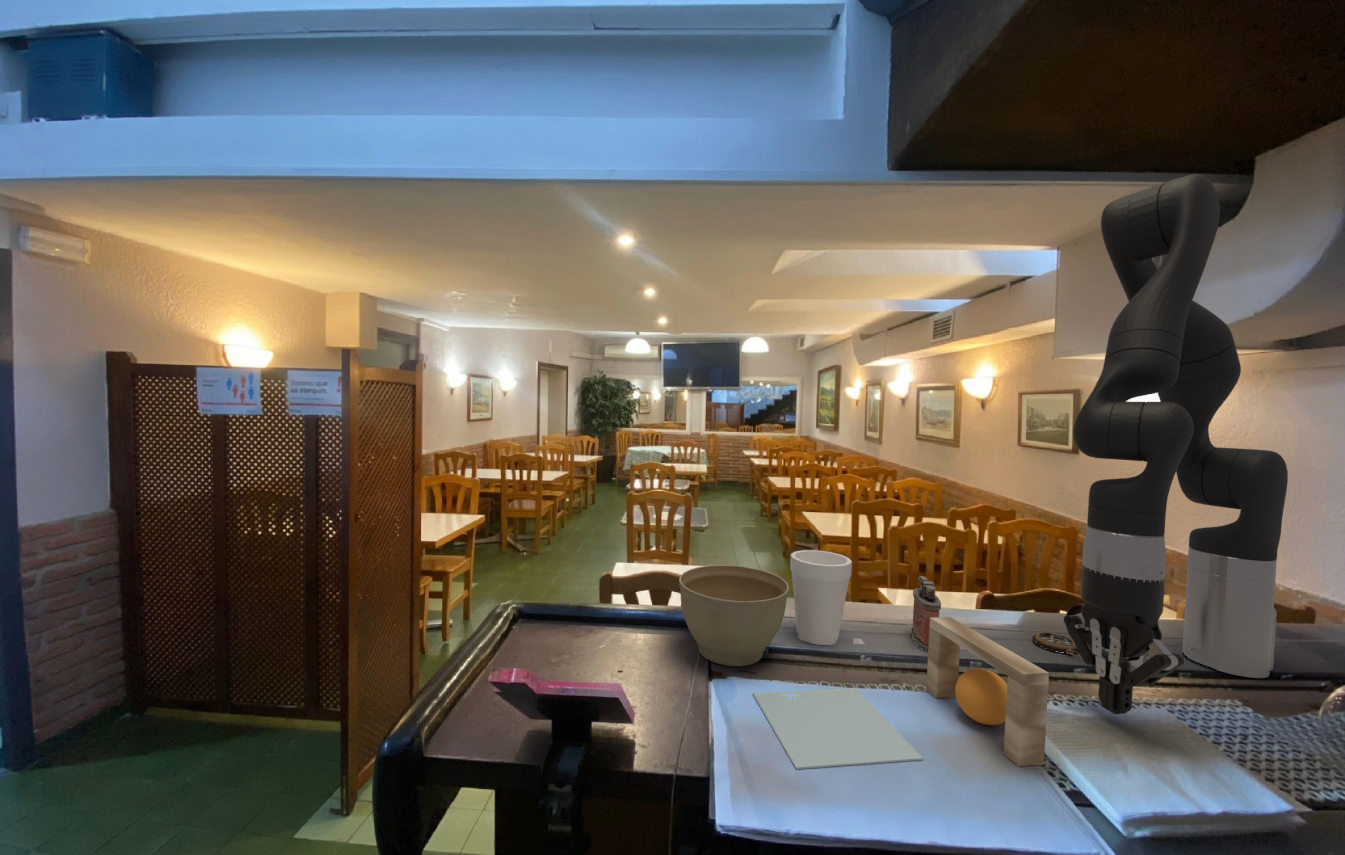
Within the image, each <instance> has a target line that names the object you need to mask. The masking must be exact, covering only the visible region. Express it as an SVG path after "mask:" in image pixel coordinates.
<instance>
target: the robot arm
mask: <svg viewBox="0 0 1345 855" xmlns="http://www.w3.org/2000/svg"><path fill="white" fill-rule="evenodd" d="M1220 206H1221V205H1220V200H1219V195H1218V193H1217V189H1216V187H1215V186H1214V184H1213V182H1212V181H1211V180H1210V179H1209V178H1208V177H1207V176H1206V175H1203V174H1200V173H1196V174H1189V175H1185V176H1181V177H1178V178H1175V179H1171V180H1168V181H1166V182H1163V183H1159V184H1157V185H1154V186H1151V187H1147V188H1145V189H1142V190H1139V191H1136V192H1134V193H1131V194H1127V195H1124V196H1123V197H1119V198H1117V199H1115V200H1113V201H1111V202H1109V203H1107V205H1106V206H1105V207H1104V208H1103V211H1102V214H1101V218H1100V227H1101V236H1102V238H1103V243H1104V246H1105V249H1106V252H1107V254H1108V257H1109V260H1110V262H1111V264H1112V266H1113V268H1114V271H1115V273H1116V276H1117V278H1118V279H1119V282H1120V284H1121V287H1122V289H1123V291H1124V294H1125V297H1126V298H1127V300H1128V302H1127V303H1126V305H1125V306H1124V307H1122V310H1121V311H1120V312H1119V313H1118V315H1117V316H1116V318H1115V320H1114V321H1113V323H1112V326H1111V328H1110V330H1109V335H1108V339H1107V345H1106V350H1105V355H1104V360H1103V366H1102V371H1101V372H1100V375H1099V378H1098V380H1097V381H1096V384H1095V386H1094V387H1093V389H1092V391H1091V393H1090V394H1089V396H1088V398H1086V400H1085V401H1084V403H1083V405H1082V407H1081V409H1080V410H1079V413H1078V414H1077V417H1076V419H1075V420H1074V426H1073V430H1072V432H1073V434H1072V435H1073V436H1072V437H1073V440H1074V443H1075V445H1076V447H1077V448H1078V450H1079V451H1080V452H1081V453H1082V454H1083V455H1085V456H1087V457H1090V458H1095V459H1103V460H1116V461H1117V460H1118V461H1134V462H1145V463H1146V466H1145V468H1144V470H1143V471H1142V472H1141V473H1139V474H1138V475H1135V476H1131V477H1125V478H1124V477H1121V478H1109V479H1108V478H1106V479H1100V480H1096V481H1094V482H1092V484H1091V485H1090V487H1089V493H1088V506H1087V520H1086V521H1087V522H1086V523H1087V526H1086V532H1085V537H1084V540H1083V545H1082V546H1083V547H1082V548H1083V550H1082V566H1081V580H1080V581H1081V584H1080V597H1081V599H1082V601H1084V603H1083V604H1084V605H1083V606H1082V608H1081V613H1079V614H1076V615H1071V616H1066V615H1065V616H1064V617H1063V622H1064V624H1065V626H1066V627H1067V628H1066V630H1067V629H1068V631H1069V633H1070V635H1071V636H1070V635H1069V636H1070V638H1071V637H1072V638H1071V640H1073V641H1074V643H1075V645H1076V647H1077V649H1078V651H1079V653H1080V654H1079V655H1081V656H1080V657H1081V658H1082V661H1083V663H1085V665H1090V666H1092V667H1093V668H1094V669H1095V671H1096V674H1097V675H1098V678H1099V680H1098V694H1097V696H1098V698H1099V701H1100V707H1102V708H1103V709H1105V710H1106V711H1109V712H1110V713H1111V714H1114V715H1126V714H1127V713H1128V712H1130V711H1131V710H1132V707H1133V692H1134V691H1133V690H1134V689H1133V688H1134V687H1148V686H1150V687H1151V686H1153V685H1154V684H1156V683H1157V682H1159V681H1160V680H1162V679H1164V678H1165V677H1167V676H1168V675H1170V674H1171V673H1173V672H1174V671H1176V670H1177V669H1179V668H1181V666H1183V665H1184V663H1185V660H1184V658H1183V656H1182V655H1181V654H1178V653H1172V652H1171V651H1170V650H1169V649H1168V648H1167V646H1166V645H1165V644H1164V643H1163V641H1162V640H1163V634H1162V631H1161V629H1160V626H1159V620H1160V618H1161V616H1162V614H1163V612H1164V604H1165V603H1164V600H1165V599H1164V598H1165V585H1166V567H1167V565H1166V564H1167V552H1166V551H1167V550H1166V541H1165V540H1166V539H1165V532H1166V530H1165V529H1166V516H1167V515H1166V513H1167V506H1168V498H1169V494H1170V490H1171V487H1172V484H1173V482H1174V477H1175V474H1176V478H1177V481H1178V484H1179V487H1180V489H1181V492H1182V493H1183V495H1184V496H1185V497H1186V498H1187V499H1188V500H1189V501H1190V502H1193V503H1196V504H1199V505H1205V506H1212V507H1217V508H1218V507H1219V508H1225V509H1227V508H1228V509H1233V510H1234V509H1235V510H1240V512H1239V515H1238V518H1237V519H1236V520H1235V521H1233V522H1230V523H1227V524H1224V525H1219V526H1218V525H1217V526H1208V527H1207V526H1206V527H1199V528H1194V529H1193V530H1191V531H1190V532H1189V538H1188V552H1187V569H1186V570H1187V571H1186V583H1185V584H1186V586H1185V601H1184V616H1183V617H1184V618H1183V619H1184V620H1183V621H1184V622H1183V636H1182V651H1183V652H1184V653H1185V654H1186V655H1188V656H1189V657H1190V658H1192V659H1193V660H1196V661H1197V662H1199V663H1201V664H1203V665H1206V666H1209V667H1212V668H1214V669H1217V670H1216V671H1217V672H1218V671H1219V672H1221V673H1225V674H1229V675H1235V676H1239V677H1245V678H1253V679H1265V678H1269V677H1270V672H1269V671H1270V669H1273V670H1274V658H1275V644H1276V630H1277V614H1278V612H1277V609H1276V608H1275V594H1276V593H1275V591H1276V576H1277V562H1278V561H1277V559H1278V550H1279V545H1280V542H1281V534H1282V524H1283V515H1284V509H1285V503H1286V502H1285V501H1286V496H1287V490H1288V483H1289V482H1288V481H1289V480H1288V479H1289V478H1288V476H1289V475H1288V472H1289V471H1288V467H1287V463H1286V460H1285V459H1284V458H1283V457H1282V455H1281V454H1279V453H1278V452H1276V451H1273V450H1266V449H1265V450H1264V449H1254V448H1253V449H1252V448H1235V447H1234V448H1233V447H1216V446H1214V444H1212V442H1211V439H1210V434H1209V433H1210V431H1209V427H1210V424H1211V422H1212V420H1213V418H1214V416H1215V415H1216V413H1217V412H1218V410H1220V407H1221V406H1222V405H1223V404H1224V402H1226V400H1227V399H1228V397H1229V396H1230V395H1231V393H1232V392H1233V390H1234V389H1235V387H1236V385H1237V384H1238V383H1239V382H1238V381H1239V379H1240V378H1241V377H1240V376H1241V373H1242V367H1241V362H1240V358H1239V355H1238V354H1239V353H1238V351H1237V347H1236V343H1235V340H1234V337H1233V332H1232V331H1231V329H1230V327H1229V326H1228V325H1227V324H1226V323H1225V321H1223V319H1221V318H1220V317H1218V316H1217V315H1216V314H1215V313H1213V312H1212V311H1210V310H1209V309H1207V308H1206V307H1204V306H1203V305H1201V304H1200V303H1198V302H1197V301H1196V300H1193V299H1194V297H1195V294H1196V292H1197V288H1198V286H1199V283H1200V281H1201V279H1202V276H1203V273H1204V270H1205V268H1206V265H1207V262H1208V259H1209V256H1210V253H1211V250H1212V247H1213V245H1214V242H1215V239H1216V235H1217V233H1218V227H1219V223H1220V213H1221V212H1220V211H1221V210H1220V208H1221V207H1220ZM1161 256H1162V257H1163V256H1165V257H1164V260H1163V262H1162V263H1161V264H1160V265H1159V267H1157V266H1156V264H1155V261H1154V259H1153V258H1158V257H1161ZM1154 394H1157V395H1158V396H1157V397H1158V398H1159V399H1158V400H1159V401H1130V400H1132V399H1133V398H1138V397H1143V396H1149V395H1154ZM1128 400H1129V401H1128ZM1068 631H1067V632H1068ZM1069 633H1068V634H1069ZM1182 651H1181V652H1182ZM1145 654H1147V655H1146V656H1145ZM1144 658H1145V659H1146V661H1145V662H1144ZM1203 665H1202V666H1203ZM1214 669H1213V670H1214Z"/></svg>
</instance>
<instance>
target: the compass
mask: <svg viewBox="0 0 1345 855" xmlns="http://www.w3.org/2000/svg"><path fill="white" fill-rule="evenodd" d="M1083 605H1084V603H1074V604H1072V605H1070V606H1069V607H1068V609H1067V611H1066V614H1065V616H1071V615H1076V614H1079V613H1081V608H1082V606H1083ZM1066 631H1067V633H1068V635H1069V636H1070V638H1069V637H1067V636H1065V635H1062V634H1059V633H1053V632H1047V631H1046V632H1045V631H1044V632H1043V631H1042V632H1041V631H1040V632H1038V633H1036V634H1033V636H1032V639H1033V640H1032V642H1033V641H1034V642H1035V643H1034V642H1033V643H1034V644H1035V645H1036V644H1038V645H1039V646H1042V647H1043V648H1047V649H1049V650H1052V651H1058V652H1064V653H1068V654H1067V655H1069V654H1070V653H1076V654H1070V655H1071V656H1073V657H1074V656H1075V657H1081V655H1080V653H1078V652H1079V651H1078V649H1077V647H1076V645H1075V643H1074V641H1073V639H1072V637H1071V635H1070V633H1069V631H1068V629H1067V627H1066ZM1039 646H1038V647H1039ZM1043 648H1042V649H1043ZM1049 650H1048V651H1049ZM1052 651H1051V652H1052Z"/></svg>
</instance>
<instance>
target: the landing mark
mask: <svg viewBox="0 0 1345 855" xmlns="http://www.w3.org/2000/svg"><path fill="white" fill-rule="evenodd" d="M795 691H796V692H795ZM783 693H784V694H783ZM785 693H789V694H785ZM791 693H793V695H794V693H795V695H801V696H799V697H798V696H796V697H793V696H792V697H790V696H789V697H787V696H781V695H792V694H791ZM753 695H754V696H753ZM778 695H779V696H778ZM752 696H753V697H755V698H754V699H755V701H756V700H757V701H756V703H757V702H758V703H757V704H758V707H760V710H761V709H762V710H761V711H762V713H763V715H764V716H765V718H766V720H767V722H768V723H769V725H770V727H771V728H772V730H773V732H774V733H775V736H776V737H777V739H778V740H779V742H780V744H781V745H782V748H783V749H784V751H785V753H786V754H787V756H788V758H789V759H790V761H791V762H792V765H793V766H794V769H795V770H805V769H806V770H807V769H809V770H810V769H820V768H832V767H846V766H847V767H848V766H860V765H862V766H863V765H873V764H874V765H875V764H889V763H900V762H901V763H902V762H915V761H924V757H923V756H922V755H921V754H920V753H919V752H918V751H917V750H916V749H915V748H914V747H913V745H912V744H910V743H909V742H908V741H907V739H905V738H904V737H903V735H902V734H900V733H899V731H898V730H897V729H896V728H895V727H894V726H893V725H892V724H891V723H890V722H889V721H888V720H887V719H886V718H885V717H884V716H883V715H882V714H881V713H880V711H879V710H878V709H876V708H875V707H874V705H873V704H872V703H870V701H869V700H867V698H866V697H865V696H864V695H863V694H862V693H861V692H860V691H859V690H858V689H857V688H856V687H855V688H853V687H852V688H851V687H850V688H836V689H835V688H834V689H833V688H832V689H815V690H814V689H810V690H794V691H792V692H790V691H776V692H775V691H773V692H772V691H770V692H769V691H768V692H755V693H752ZM785 698H786V699H785ZM788 698H792V699H788ZM794 698H798V699H794ZM799 698H800V699H799ZM785 700H786V701H785ZM788 700H790V701H788ZM791 700H792V701H791ZM794 700H795V701H794Z"/></svg>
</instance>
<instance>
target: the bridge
mask: <svg viewBox="0 0 1345 855" xmlns="http://www.w3.org/2000/svg"><path fill="white" fill-rule="evenodd" d="M961 648H963V649H964V650H966V651H967V652H969V653H971V654H972V655H974V656H975V657H977V658H978V659H980V660H982V661H983V662H985V663H987V665H990V666H991V667H993V668H994V669H996V670H997V671H999V672H1001V673H1002V674H1004V675H1005V676H1007V682H1006V684H1007V700H1006V718H1005V722H1004V739H1003V741H1004V742H1003V755H1004V756H1006V758H1007V759H1009V760H1010V761H1012V763H1014V764H1015V765H1017V766H1018V767H1029V765H1031V766H1040V765H1042V766H1043V765H1045V755H1046V754H1045V753H1046V752H1045V749H1046V736H1047V734H1046V731H1047V717H1048V716H1047V715H1048V700H1049V699H1048V698H1049V679H1050V676H1049V675H1050V672H1048V671H1047V670H1044V669H1042V667H1039V666H1038V665H1036V664H1035V663H1032V662H1031V661H1029V660H1028V659H1025V658H1023V657H1021V656H1020V655H1018V654H1017V653H1015V652H1013V651H1011V650H1010V649H1008V648H1006V647H1004V646H1002V645H1001V644H998V643H997V642H995V641H993V640H992V639H990V638H988V637H986V636H985V635H983V634H981V633H979V632H977V631H976V630H974V629H973V628H970V627H969V626H967V625H965V624H963V623H962V622H960V621H958V620H957V619H954V618H953V617H951V616H945V617H944V616H943V617H941V616H939V617H936V618H930V627H929V647H928V652H927V670H926V671H927V673H926V685H925V686H926V689H925V690H926V692H928V693H929V694H930V695H931V696H933V695H934V696H935V697H936V698H938V699H949V698H950V699H951V698H956V693H955V688H956V683H957V681H958V679H959V671H960V653H961V652H960V651H961V650H960V649H961ZM934 696H933V697H934ZM935 697H934V698H935ZM936 698H935V699H936ZM956 699H957V698H956Z"/></svg>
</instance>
